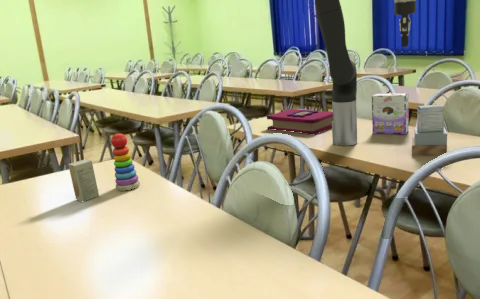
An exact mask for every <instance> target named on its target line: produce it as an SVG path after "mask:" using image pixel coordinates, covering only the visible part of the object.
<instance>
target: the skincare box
mask: <svg viewBox="0 0 480 299" xmlns="http://www.w3.org/2000/svg"><path fill="white" fill-rule="evenodd" d="M68 169H69V173H70V178H71V183H72V188H73V192H74V196H75V200H76V199H77V200H76V201H78V200H79V201H78V202H80V201H81V202H80V203H83V202H82V201H84V202H87V201H90V200H92V199H95V198H97V196H98V197H100V192H99V188H98V184H97V179H96V173H95V169H94V164H93V161H92V160H91V159H87V158H84V159H80V160H78V161H74V162H71V163H68ZM94 197H95V198H94ZM91 198H92V199H91ZM89 199H90V200H89ZM86 200H87V201H86Z"/></svg>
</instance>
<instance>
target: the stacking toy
mask: <svg viewBox="0 0 480 299" xmlns="http://www.w3.org/2000/svg"><path fill="white" fill-rule="evenodd" d="M127 143H128V138H127V136H126V135H125V134H123V133H115V134H113V135H112V137H111V138H110V144H111V145H112V147H113V148H114V149H113V151H112V153H113V154H114V156H113V159H114V162H113V165H114V177H115V179H114V180H115V189H116V190H117V191H120V190H121V192H122V191H123V192H126V191H125V190H128V191H131V189H132V190H135V189H137V188H138V187H139V186H140V184H141V183H140V182H141V181H140V180H139V175H138V174H137V170H136V169H135V167H136V166H135V165H134V163H133V159H132V158H131V157H132V155H131V153H130V152H129V151H130V149H129V147H128V146H127ZM136 187H137V188H136ZM134 188H135V189H134Z"/></svg>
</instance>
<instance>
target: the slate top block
mask: <svg viewBox="0 0 480 299" xmlns="http://www.w3.org/2000/svg"><path fill="white" fill-rule="evenodd" d="M414 138H415V145H447V146H448V132H447V130H446V127H445V126H444V131H433V132H419V131H418V130H417V126H415V127H414Z"/></svg>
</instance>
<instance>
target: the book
mask: <svg viewBox="0 0 480 299" xmlns="http://www.w3.org/2000/svg"><path fill="white" fill-rule="evenodd" d="M266 120H271V121H272V125H269V126H267V130H268V129H276V130H275V131H277V130H286V131H294V132H302V133H301V134H303V133H307V134H306V135H310V134H315V135H317V133H318V134H320V133H323V132H325V131H328V130H330V128H331V129H332V121H333V111H326V110H325V111H324V110H313V109H312V110H311V109H298V108H289V109H285V110H282V111H279V112H275V113H272V114H268V115H266ZM327 129H328V130H327ZM324 130H325V131H324ZM286 131H285V132H286ZM322 131H323V132H322ZM294 132H293V133H294ZM319 132H320V133H319Z"/></svg>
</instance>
